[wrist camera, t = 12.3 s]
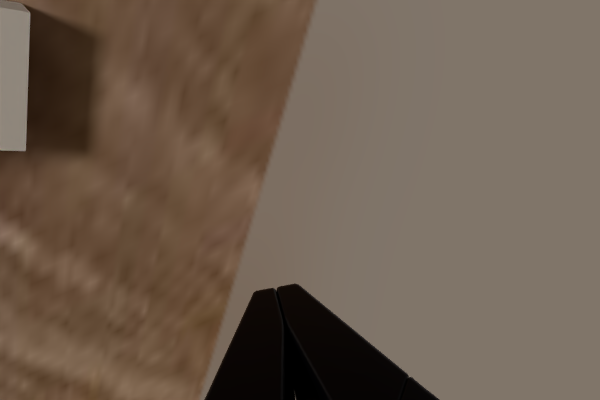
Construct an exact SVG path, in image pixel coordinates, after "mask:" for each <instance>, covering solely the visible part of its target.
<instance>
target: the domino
mask: <svg viewBox="0 0 600 400" xmlns="http://www.w3.org/2000/svg"><path fill="white" fill-rule="evenodd" d="M29 39H30V12H29V11H28V10H27V9H26V7H25V6H24V5H23V4H22V3H17V2H12V1H7V0H0V151H26V131H27V100H28V69H29Z"/></svg>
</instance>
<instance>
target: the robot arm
mask: <svg viewBox="0 0 600 400" xmlns="http://www.w3.org/2000/svg"><path fill="white" fill-rule="evenodd" d="M294 393H295V394H294ZM295 397H296V400H439V399H438V398H436V397H435V396H434V395H433V394H431V393H430V392H429V391H428V390H426V389H425V388H424V387H423V386H421V385H420V384H419V383H418V382H417V381H415V380H414V379H413V378H411V377H409V376H408V374H407V373H405V372H404V371H403V370H402V369H400V368H399V367H398V366H397V365H396V364H395V363H393V362H392V361H391V360H390V359H388V358H387V357H386V356H385V355H384V354H382V353H381V352H380V351H379V350H377V349H376V348H375V347H374V346H372V345H371V344H370V343H369V342H368V341H366V340H365V339H364V338H363V337H362V336H360V335H359V334H358V333H357V332H355V331H354V330H353V329H352V328H351V327H349V326H348V325H347V324H346V323H345V322H343V321H342V320H341V319H340V318H338V317H337V316H336V315H335V314H333V313H332V312H331V311H330V310H329V309H328V308H326V307H325V306H324V305H323V304H321V303H320V302H319V301H318V300H316V299H315V298H314V297H313V296H312V295H310V294H309V293H308V292H307V291H306V290H304V289H303V288H302V287H301V286H299V285H298V284H291V285H286V286H280V287H278V288H277V292H276V290H275V289H274V288H270V289H264V290H259V291H256V292H254V293H253V295H252V297H251V300H250V302H249V304H248V306H247V308H246V311H245V313H244V315H243V317H242V319H241V321H240V324H239V326H238V328H237V330H236V332H235V335H234V337H233V339H232V341H231V343H230V345H229V348H228V350H227V352H226V354H225V357H224V359H223V361H222V363H221V365H220V367H219V369H218V372H217V374H216V376H215V378H214V380H213V383H212V385H211V387H210V389H209V392H208V393H207V396H206V398H205V400H295Z"/></svg>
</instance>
